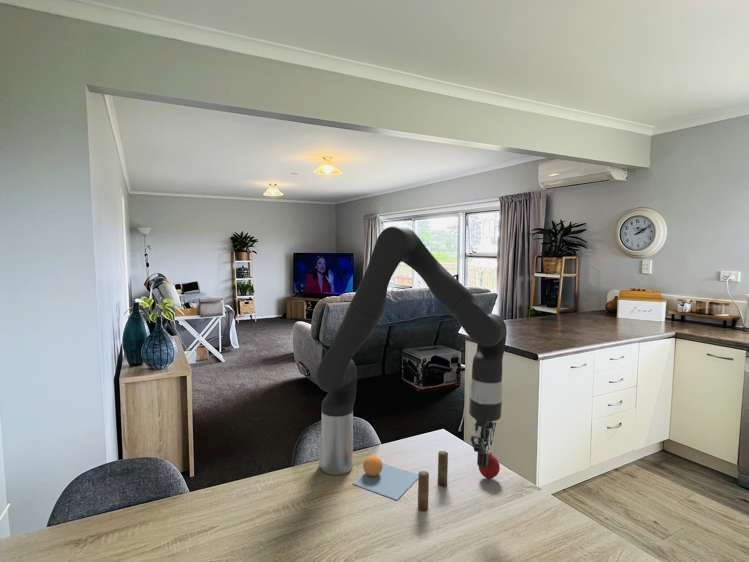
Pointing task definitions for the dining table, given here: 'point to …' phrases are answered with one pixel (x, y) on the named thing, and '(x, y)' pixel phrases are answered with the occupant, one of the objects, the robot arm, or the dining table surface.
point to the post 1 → (423, 490)
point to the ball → (372, 465)
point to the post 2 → (442, 468)
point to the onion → (490, 467)
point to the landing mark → (388, 481)
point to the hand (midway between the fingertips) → (482, 465)
